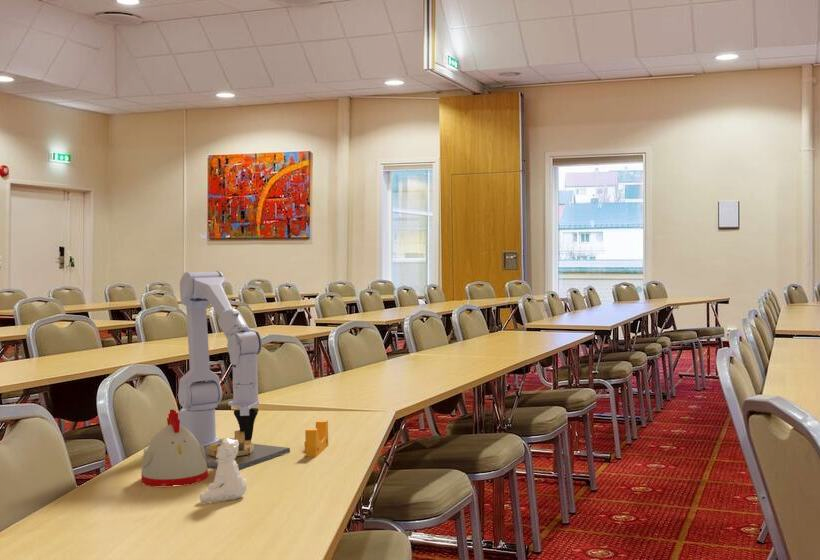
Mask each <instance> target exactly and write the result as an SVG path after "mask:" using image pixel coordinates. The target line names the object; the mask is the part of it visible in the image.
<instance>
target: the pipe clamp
mask: <svg viewBox="0 0 820 560" xmlns="http://www.w3.org/2000/svg"><path fill="white" fill-rule="evenodd" d="M304 431H305V436H304V437H305V438H304V439H305V441H304V452H305V457H307V458H310V457H311V458H315V457H316V458H317V457H318V456H319V455H320V454H322V452H323V451H324V450H325V449H327V447H328V446H329V422H328V420H316V421H315V428H306V429H305V430H304Z"/></svg>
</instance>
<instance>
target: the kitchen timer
mask: <svg viewBox="0 0 820 560" xmlns="http://www.w3.org/2000/svg"><path fill="white" fill-rule="evenodd" d="M178 413H179V412H177V410H175V409H169V413H168V416H167V418H166V420H167V421H166V423H167V425H166V426H164V427H163V428H161V430H159V431H158V432H157V433H156V434H155V436H154V437H153V438H152V439H151V441H150V443H149V444H148V446H147V448H144V450H143V457H142V461H141V462H142V466H141V472H140V473H141V483H142V484H143V483H144V484H143V485H145V484H146V485H145V486H148V485H150V486H149V487H154V486H173V485H184V484H185V485H184V486H187V485H186V484H190V485H193V484H192V483H194V484H197V483H196V482H198V483H200V481H201V482H203V481H204V480H206V479H207V478H208V475H209V473H208V470H209V469H208V467H207V463H206V460H205V459H206V455H205V450H204V447H205V446H204V445H201V446H200V444H199V442H198V441H197V439H196V438H195V436H194V435H193V434H192V433H191V432H190V431H189V430H188V429H186V428H185V427H183V426H181V425H180V420H178Z"/></svg>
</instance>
